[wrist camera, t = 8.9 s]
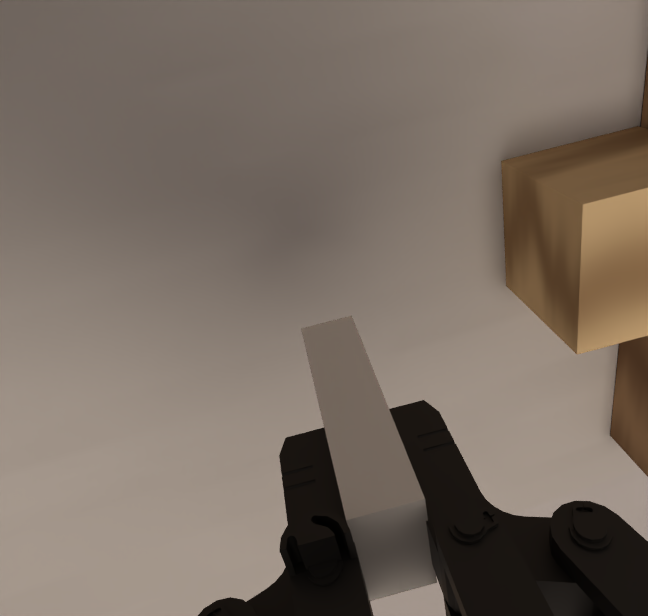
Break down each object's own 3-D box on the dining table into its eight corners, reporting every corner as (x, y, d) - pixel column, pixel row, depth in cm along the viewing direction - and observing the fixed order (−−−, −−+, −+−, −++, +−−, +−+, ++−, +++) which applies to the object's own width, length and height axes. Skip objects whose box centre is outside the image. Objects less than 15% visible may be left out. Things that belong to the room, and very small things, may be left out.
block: (500, 160, 22) (582, 204, 17) (636, 125, 23) (758, 158, 17) (505, 284, 25) (577, 354, 20) (625, 253, 26) (727, 314, 20)
